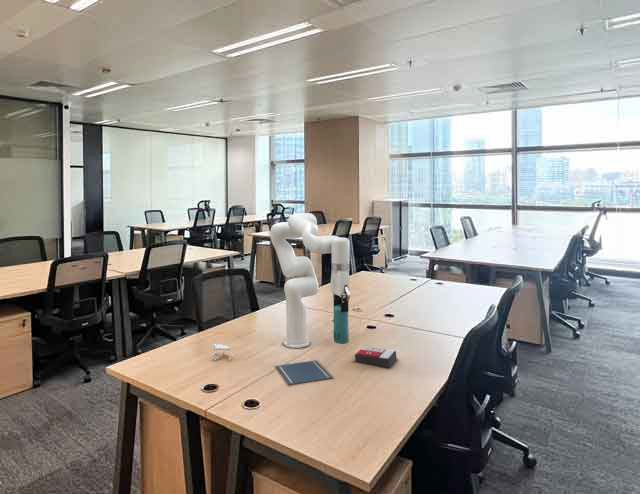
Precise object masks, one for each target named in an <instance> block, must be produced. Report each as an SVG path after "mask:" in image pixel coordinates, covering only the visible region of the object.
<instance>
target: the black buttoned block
mask: <svg viewBox="0 0 640 494" xmlns="http://www.w3.org/2000/svg"><path fill="white" fill-rule="evenodd" d="M354 357H355V362H356V363H363V364H370V365H376V366H379V367H380V368H386V369H390V368H391V366H393V364H394V363H395V361H396V360H397V350H395V349H386V348H382V347H374V346H366V345H363V347H362V348H360V349H359V350H358V351H357V352H356V353H355V354H354Z"/></svg>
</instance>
